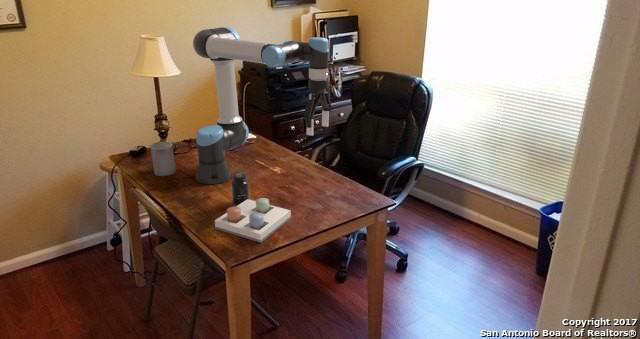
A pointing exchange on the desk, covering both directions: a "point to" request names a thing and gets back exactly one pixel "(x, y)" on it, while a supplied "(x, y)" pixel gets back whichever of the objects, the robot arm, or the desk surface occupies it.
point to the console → (242, 228)
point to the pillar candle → (163, 158)
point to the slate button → (256, 220)
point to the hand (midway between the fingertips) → (317, 130)
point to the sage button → (262, 205)
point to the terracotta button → (234, 214)
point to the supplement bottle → (240, 189)
